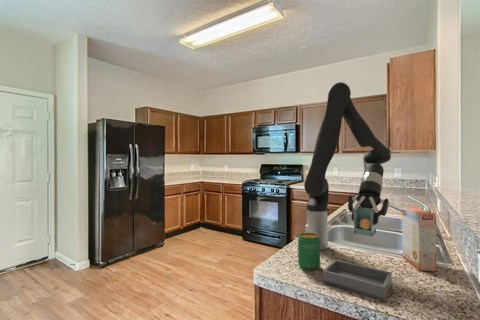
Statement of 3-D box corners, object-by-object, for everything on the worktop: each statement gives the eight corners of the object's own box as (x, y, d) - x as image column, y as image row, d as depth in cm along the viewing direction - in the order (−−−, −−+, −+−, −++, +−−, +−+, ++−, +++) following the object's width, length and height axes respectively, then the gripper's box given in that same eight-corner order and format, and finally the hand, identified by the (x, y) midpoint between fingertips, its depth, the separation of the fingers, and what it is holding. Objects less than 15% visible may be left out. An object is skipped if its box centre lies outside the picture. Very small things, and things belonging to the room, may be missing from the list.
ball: (356, 227, 92) (357, 220, 90) (363, 221, 93) (364, 214, 91) (367, 234, 89) (367, 226, 87) (373, 228, 90) (374, 220, 88)
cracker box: (438, 272, 89) (436, 213, 89) (418, 271, 91) (417, 213, 91) (418, 257, 103) (417, 206, 103) (402, 256, 104) (401, 206, 104)
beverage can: (319, 263, 99) (318, 232, 99) (321, 272, 91) (320, 239, 91) (298, 262, 100) (297, 231, 100) (298, 270, 93) (298, 237, 93)
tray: (322, 283, 83) (322, 270, 83) (335, 270, 92) (335, 259, 92) (385, 301, 71) (385, 287, 72) (392, 285, 81) (391, 272, 81)
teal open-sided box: (358, 229, 96) (358, 207, 96) (376, 232, 92) (375, 209, 92) (354, 233, 91) (353, 210, 91) (372, 236, 87) (372, 212, 87)
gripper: (349, 179, 102) (340, 213, 92) (390, 180, 93) (385, 219, 83) (353, 191, 106) (345, 225, 97) (393, 193, 97) (388, 231, 87)
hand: (363, 222), depth 90 cm, fingers closed on teal open-sided box, 6 cm apart
